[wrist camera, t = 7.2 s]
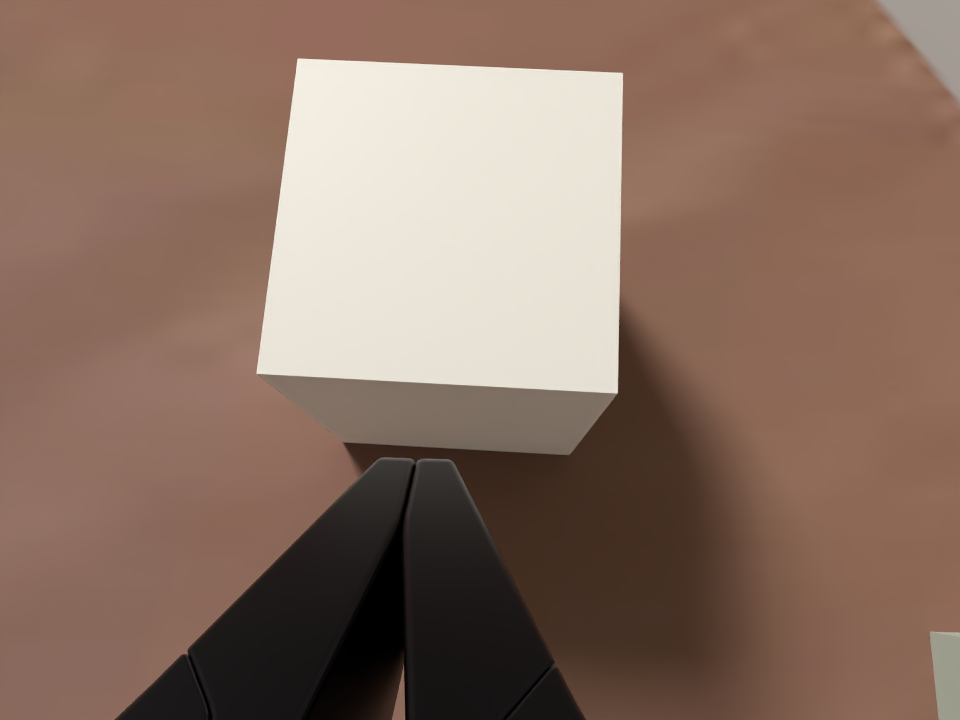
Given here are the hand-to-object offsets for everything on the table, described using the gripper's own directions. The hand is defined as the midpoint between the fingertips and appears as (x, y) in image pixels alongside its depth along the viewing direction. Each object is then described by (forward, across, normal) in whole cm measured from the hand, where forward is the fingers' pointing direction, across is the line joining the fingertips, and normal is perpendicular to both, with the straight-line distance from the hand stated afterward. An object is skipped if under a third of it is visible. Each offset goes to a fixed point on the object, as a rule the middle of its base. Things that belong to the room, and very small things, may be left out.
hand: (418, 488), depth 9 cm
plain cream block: (+12, 0, +4) cm, 13 cm away
